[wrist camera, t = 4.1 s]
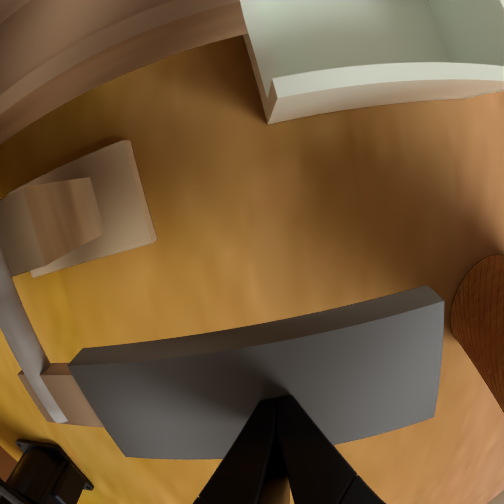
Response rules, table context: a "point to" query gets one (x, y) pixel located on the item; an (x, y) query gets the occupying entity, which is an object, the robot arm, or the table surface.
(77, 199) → the fulcrum stand
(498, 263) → the disposable coffee cup
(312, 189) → the table surface
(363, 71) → the white storage tray
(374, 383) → the lever
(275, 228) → the table surface
